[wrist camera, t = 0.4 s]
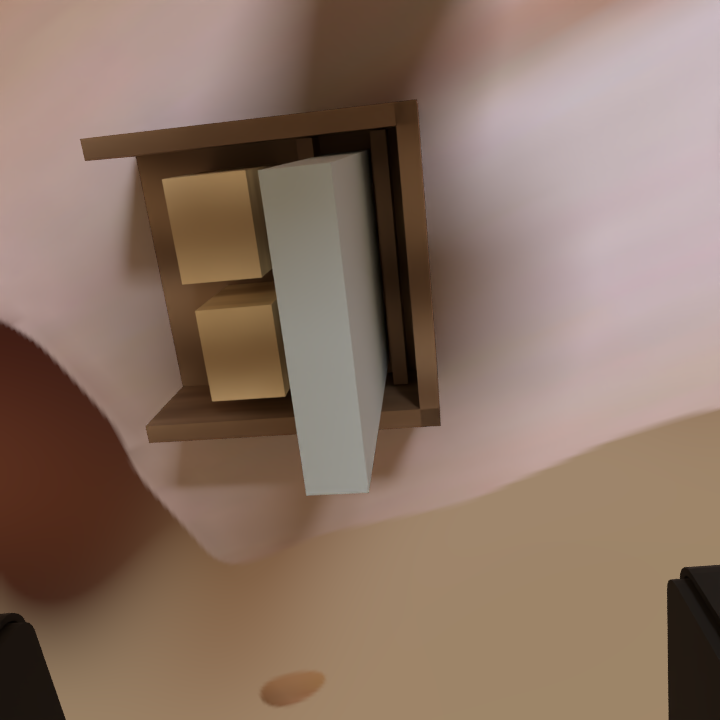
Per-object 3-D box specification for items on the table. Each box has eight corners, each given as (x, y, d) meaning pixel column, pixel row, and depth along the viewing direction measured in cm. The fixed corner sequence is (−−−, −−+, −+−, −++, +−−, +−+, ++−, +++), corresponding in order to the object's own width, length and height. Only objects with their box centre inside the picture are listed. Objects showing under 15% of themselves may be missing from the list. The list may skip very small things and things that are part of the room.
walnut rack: (139, 137, 38) (80, 139, 32) (417, 105, 36) (416, 99, 30) (191, 395, 43) (149, 442, 37) (437, 378, 41) (440, 425, 35)
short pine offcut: (227, 285, 40) (194, 311, 34) (293, 279, 39) (271, 304, 33) (241, 364, 41) (212, 401, 35) (304, 359, 41) (285, 396, 35)
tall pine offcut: (207, 170, 37) (161, 179, 31) (276, 163, 37) (245, 170, 30) (223, 258, 39) (182, 284, 32) (289, 252, 39) (261, 277, 32)
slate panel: (326, 154, 37) (257, 170, 22) (369, 149, 36) (330, 162, 21) (350, 359, 40) (306, 495, 25) (389, 356, 40) (368, 492, 25)
